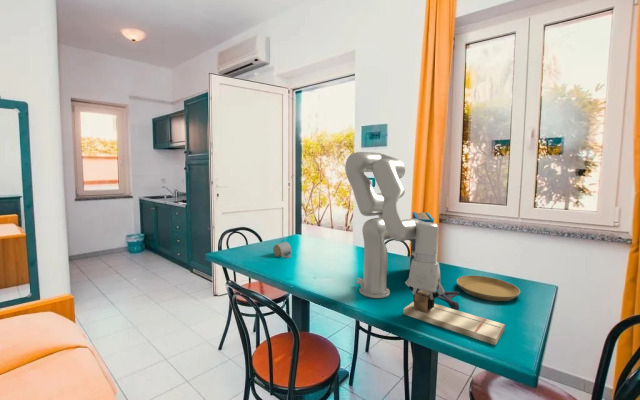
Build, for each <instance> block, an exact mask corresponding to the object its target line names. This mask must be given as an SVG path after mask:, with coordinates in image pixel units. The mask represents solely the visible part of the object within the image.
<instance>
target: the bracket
mask: <svg viewBox="0 0 640 400" xmlns="http://www.w3.org/2000/svg"><path fill="white" fill-rule="evenodd" d="M436 292H437V291H435V293H436ZM459 295H460V291H445V293H444V294H442V295H439V296H437V297H436V298H438V299H441V300H443V301H445V302H447V303H448V304H449V305H450V306H451V307H453V309H454V310H459V309H460V305H459V303H458V302H457V301H454V300H453V298H455V297H457V296H459Z"/></svg>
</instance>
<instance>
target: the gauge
mask: <svg viewBox="0 0 640 400" xmlns="http://www.w3.org/2000/svg"><path fill="white" fill-rule="evenodd" d="M429 298H430V296H429V292H428V291H424V290H421V289H419V291H418V292H417V293H415V297H414V309H416V310H419V311H423V312H427V311H428V299H429Z"/></svg>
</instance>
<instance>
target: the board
mask: <svg viewBox="0 0 640 400" xmlns="http://www.w3.org/2000/svg"><path fill="white" fill-rule="evenodd" d="M402 309H403V311H402V312H403V313H402V314H403V315H404V316H406V317H407V316H408V317H411V318H414V319H415V320H416V319H417V320H420V321H422V322H425V323H428V324H430V325H431V324H432V325H434V326H436V327H440V328H443V329H445V330H448V331H452V332H455V333H458V334H461V335H464V336H467V337H471V338H472V339H475V340H479V341H482V342H485V343H487V344H491V345H493V346H496V345H497V344H498V342H499V340H500V339H501V337H502V335H503V334H504V333H505V328H506V325H505V324H504V323H501V322H498V321H494V320H491V319H488V318H485V317H482V316H477V315H474V314H470V313H467V312H464V311H460V310H459V309H455V308H451V307H447V306H445V305H441V304H437V303H434V307H433V308H432V309H431V310H428V311H427V312H423V311H419V310H416V309H414V302H413V301H412V302H411V303H409V304H408V305H406V306H405V307H404V308H402Z"/></svg>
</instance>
